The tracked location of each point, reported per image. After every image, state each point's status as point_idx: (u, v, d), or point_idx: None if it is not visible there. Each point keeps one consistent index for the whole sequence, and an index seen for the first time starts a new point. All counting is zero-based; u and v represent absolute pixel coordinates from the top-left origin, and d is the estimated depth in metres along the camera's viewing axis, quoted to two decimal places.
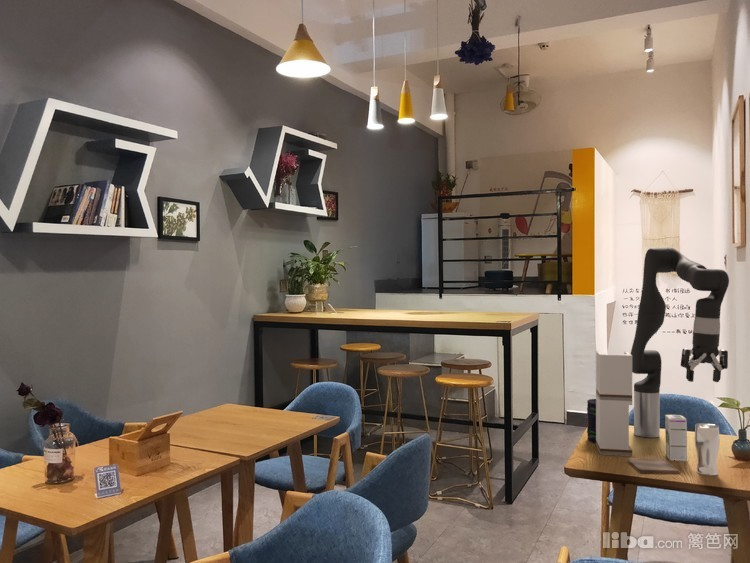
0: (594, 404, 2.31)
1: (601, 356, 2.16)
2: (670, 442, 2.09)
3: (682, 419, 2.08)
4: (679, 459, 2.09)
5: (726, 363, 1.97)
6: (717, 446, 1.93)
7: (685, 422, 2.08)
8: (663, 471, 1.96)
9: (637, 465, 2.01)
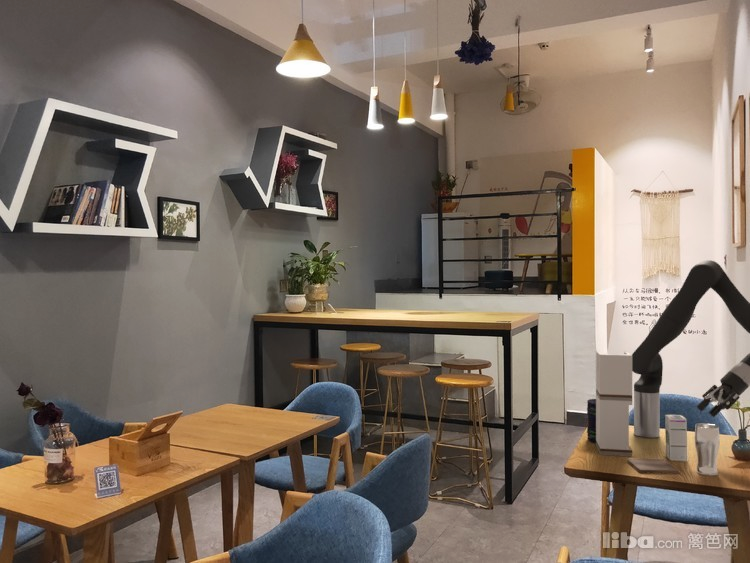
0: (594, 404, 2.31)
1: (601, 356, 2.16)
2: (670, 442, 2.09)
3: (682, 419, 2.08)
4: (679, 459, 2.09)
5: None
6: (717, 446, 1.93)
7: (685, 422, 2.08)
8: (663, 471, 1.96)
9: (637, 465, 2.01)
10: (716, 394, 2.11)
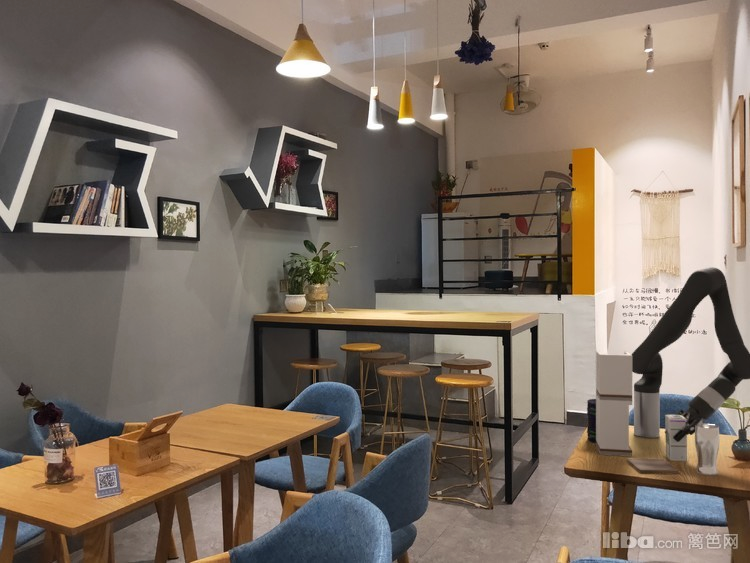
0: (594, 404, 2.31)
1: (601, 356, 2.16)
2: (670, 442, 2.09)
3: (682, 419, 2.08)
4: (679, 459, 2.09)
5: None
6: (717, 446, 1.93)
7: None
8: (663, 471, 1.96)
9: (637, 465, 2.01)
10: None
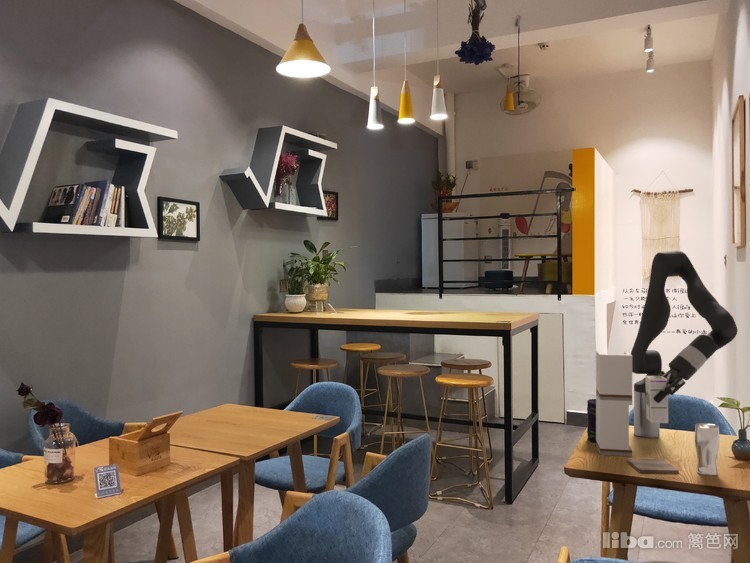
0: (594, 404, 2.31)
1: (601, 356, 2.16)
2: (650, 403, 2.00)
3: (663, 379, 1.99)
4: (660, 421, 1.99)
5: None
6: (717, 446, 1.93)
7: None
8: (663, 471, 1.96)
9: (637, 465, 2.01)
10: None
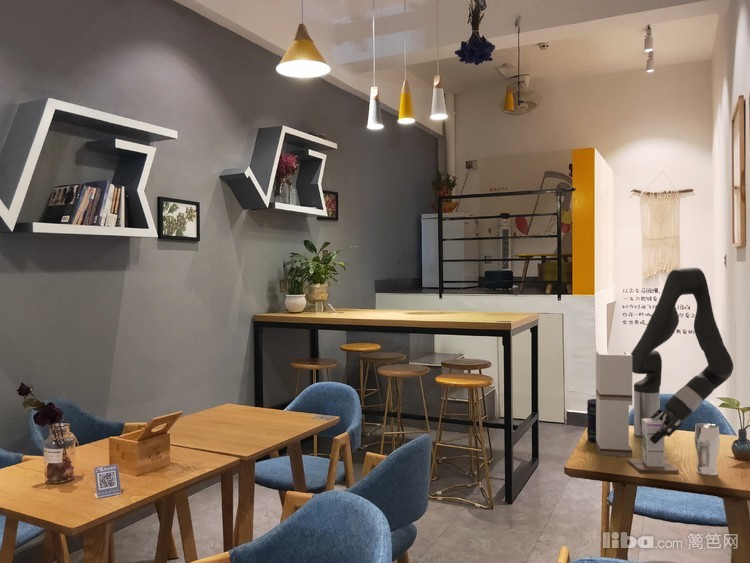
0: (594, 404, 2.31)
1: (601, 356, 2.16)
2: (647, 447, 1.99)
3: (659, 423, 1.99)
4: (656, 465, 1.99)
5: None
6: (717, 446, 1.93)
7: None
8: (663, 471, 1.96)
9: (637, 465, 2.01)
10: (660, 419, 2.02)
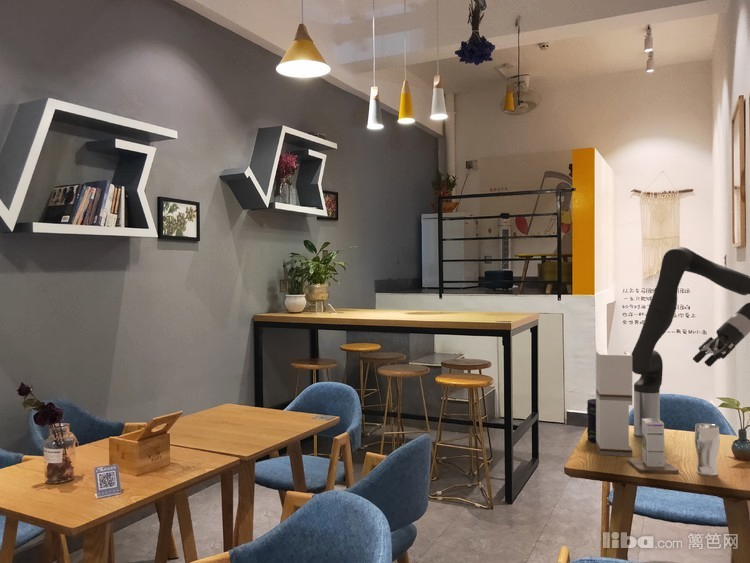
0: (594, 404, 2.31)
1: (601, 356, 2.16)
2: (647, 447, 1.99)
3: (659, 423, 1.99)
4: (656, 465, 1.99)
5: None
6: (717, 446, 1.93)
7: (662, 426, 1.99)
8: (663, 471, 1.96)
9: (637, 465, 2.01)
10: (712, 345, 2.12)
